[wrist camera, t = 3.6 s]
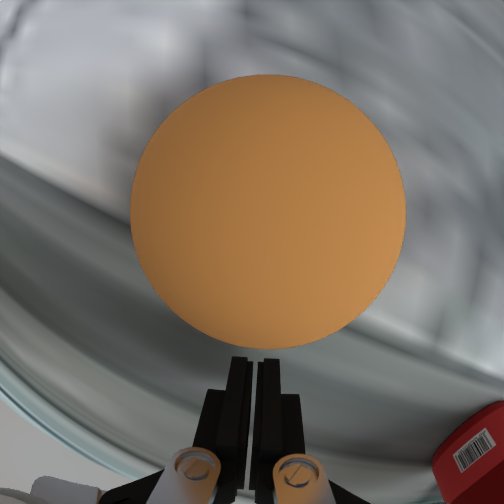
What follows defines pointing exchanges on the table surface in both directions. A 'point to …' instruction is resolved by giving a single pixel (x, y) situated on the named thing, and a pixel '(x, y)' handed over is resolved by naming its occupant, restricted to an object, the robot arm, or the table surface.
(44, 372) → the table surface
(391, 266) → the ball
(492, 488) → the canned food
